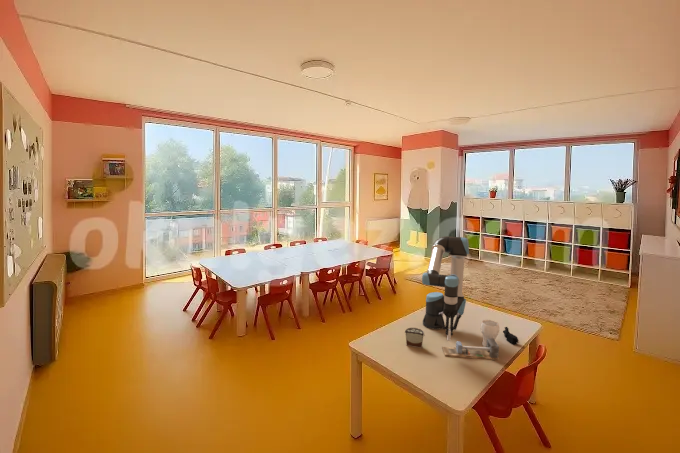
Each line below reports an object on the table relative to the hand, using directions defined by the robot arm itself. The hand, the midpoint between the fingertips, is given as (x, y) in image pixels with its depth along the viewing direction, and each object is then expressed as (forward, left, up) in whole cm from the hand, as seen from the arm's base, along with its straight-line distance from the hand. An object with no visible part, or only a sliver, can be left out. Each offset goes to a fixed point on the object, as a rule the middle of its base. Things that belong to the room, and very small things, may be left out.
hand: (448, 340), depth 193 cm
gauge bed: (+10, +7, -8) cm, 15 cm away
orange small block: (+11, +4, -7) cm, 14 cm away
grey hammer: (+12, +8, -7) cm, 16 cm away
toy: (+23, +43, -9) cm, 49 cm away
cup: (+15, +25, -9) cm, 31 cm away
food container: (-20, -5, -9) cm, 22 cm away
